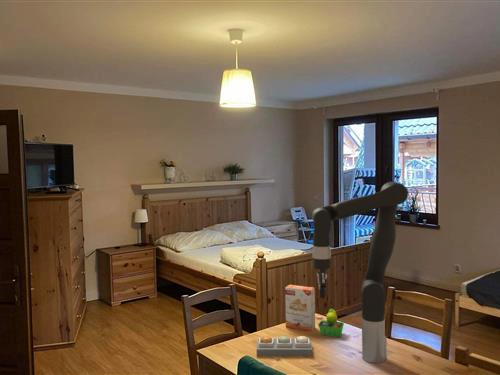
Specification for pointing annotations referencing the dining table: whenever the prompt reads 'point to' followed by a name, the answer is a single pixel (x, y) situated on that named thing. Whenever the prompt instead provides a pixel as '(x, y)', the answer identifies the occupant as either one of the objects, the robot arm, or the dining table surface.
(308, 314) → the cracker box
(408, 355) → the dining table surface
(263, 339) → the orange button
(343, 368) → the dining table surface
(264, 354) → the control panel
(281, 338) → the sage button
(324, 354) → the dining table surface
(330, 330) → the fruit basket
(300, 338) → the cream button
